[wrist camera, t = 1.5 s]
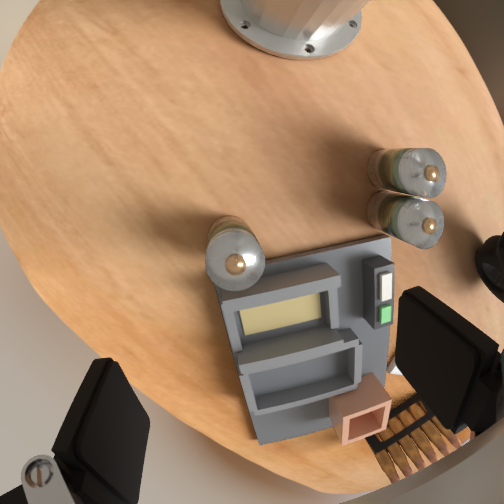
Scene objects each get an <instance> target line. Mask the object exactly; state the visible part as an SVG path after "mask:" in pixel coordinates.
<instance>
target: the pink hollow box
mask: <svg viewBox="0 0 504 504" xmlns="http://www.w3.org/2000/svg"><path fill="white" fill-rule="evenodd" d="M391 402H392V398H391V397H390V396H389V394H388V393H387V391H386V390H385V389H384V387H383V386H382V384H381V383H380V382H379V380H378V379H377V377H376V376H375V375H374V373H370V374H367V375H364V376H361V382H359V383H358V386H357V389H354V390H351V391H348V392H345V393H342V394H339V395H335V396H332V397H329V418H330V420H331V423H332V425H333V427H334V429H335V432H336V434H337V436H338V438H339V441H340V443H341V445H342V446H343V445H346V444H349V443H351V442H354V441H357V440H360V439H363V438H365V437H368V436H371V435H373V434H376V433H378V432H381V431H383V430H385V429H386V427H387V423H388V418H389V413H390V408H391Z"/></svg>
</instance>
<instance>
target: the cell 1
mask: <svg viewBox="0 0 504 504" xmlns="http://www.w3.org/2000/svg"><path fill="white" fill-rule="evenodd" d="M205 267H206V271H207V274H208V276H209V278H210V279H211V280H212V281H213V282H214V283H215V284H216V285H217V286H219V287H221V288H223V289H225V290H229V291H240V290H244V289H247V288H249V287H251V286H252V285H254V284H255V283H256V282H257V281H258V280H259V279H260V277H261V276H262V273H263V271H264V268H265V256H264V252H263V250H262V248H261V246H260V244H259V242H258V240H257V239H256V237H255V235H254V233H253V232H252V230H251V228H250V227H249V225H248V224H247V223H246V222H245V221H244V220H243V219H241V218H239V217H236V216H225V217H222V218H220V219H218V220H217V221H215V222H214V223H213V225H212V226H211V228H210V230H209V233H208V239H207V247H206V259H205Z"/></svg>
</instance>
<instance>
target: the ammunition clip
mask: <svg viewBox="0 0 504 504" xmlns="http://www.w3.org/2000/svg"><path fill="white" fill-rule="evenodd" d="M422 409H423V410H422ZM425 413H426V414H425ZM410 414H411V415H412V416H411V415H410ZM413 418H414V419H415V420H414V419H413ZM399 420H400V421H399ZM401 423H402V424H403V425H402V424H401ZM433 423H434V424H433ZM434 425H435V426H436V427H437V428H436V427H435V426H434ZM403 426H404V427H405V428H404V427H403ZM388 427H389V428H390V429H391V431H392V433H393V434H394V436H393V434H392V433H391V431H390V429H389V428H388ZM437 429H438V430H439V431H440V432H441V433H442V434H443V435H444V436H445V437H446V438H447V439H448V440H449V441H450V443H451V444H452V445H453V446H454V447H456V448H457V449H458V448H460V447H461V446H462V445H461V442H460V440H459V438H458V437H457V435H456V434H455V435H454V434H453V433H452V431H451V430H450V429H449V430H447V429H445V428H444V427H443V425H442V424H441V423H440V422H439V420H438V419H437V418H436V416H435V415H434V414H433V412H432V411H431V410H430V409H429V407H428V406H427V405H426V403H425V402H424V401H423V400H422V398H421V397H420V396H419V394H418V393H417V394H415V395H414V396H412V397H411V398H409V399H408V400H407V401H405V402H404V403H402V404H401V405H399V406H398V407H396V408H394V409H393V410H391V411H390V413H389V418H388V423H387V427H386V429H385V430H383V431H381V432H378V433H376V434H373V435H371V436H368V437H365V439H366V441H367V442H368V444H369V446H370V448H371V449H372V451H373V453H374V455H375V457H376V459H377V461H378V462H379V464H380V466H381V468H382V470H383V471H384V472H385V473H386V475H387V476H388V478H389V479H390V481H391V483H392V484H393V483H395V482H397V481H399V480H400V478H399V476H398V474H397V471H396V469H395V467H394V463H393V461H394V462H395V464H396V465H397V466H398V467H399V468H400V470H401V471H402V473H403V474H404V476H405V477H408V476H410V475H412V474H413V471H412V469H411V467H410V466H409V463H408V461H407V458H406V456H405V454H404V452H405V453H406V455H407V456H408V457H409V458H410V459H411V460H412V462H413V463H414V464H415V466H416V467H417V469H418V470H419V471H420V470H422V469H424V468H426V465H425V463H424V461H423V459H422V458H421V455H420V454H419V451H418V448H419V449H420V450H421V451H422V452H423V453H424V455H425V456H426V457H427V458H428V460H429V461H430V462H431V463H432V464H433V463H435V462H437V461H438V458H437V455H436V453H435V452H434V450H433V448H432V447H431V445H430V442H429V440H430V441H431V442H432V443H433V444H434V445H435V446H436V447H437V448H438V450H439V451H440V452H441V453H442V454H443V455H444V456H447V455H449V454H450V451H449V448H448V447H447V445H446V443H445V442H444V440H443V439H442V437H441V435H440V433H439V431H438V430H437ZM422 430H423V432H424V433H425V434H424V433H423V432H422ZM377 434H378V435H379V436H378V435H377ZM425 435H426V436H427V437H428V439H429V440H428V439H427V437H426V436H425ZM379 437H380V438H381V440H382V442H381V440H380V438H379ZM411 438H412V439H413V441H414V442H415V444H416V445H417V447H418V448H417V447H416V445H415V444H414V442H413V441H412V439H411ZM399 445H401V447H402V448H403V450H404V452H403V451H402V449H401V447H400V446H399ZM388 452H389V454H390V455H391V457H392V459H393V461H392V460H391V458H390V456H389V454H388Z"/></svg>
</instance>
